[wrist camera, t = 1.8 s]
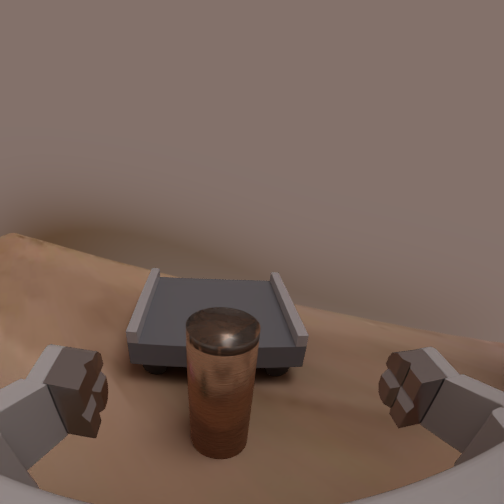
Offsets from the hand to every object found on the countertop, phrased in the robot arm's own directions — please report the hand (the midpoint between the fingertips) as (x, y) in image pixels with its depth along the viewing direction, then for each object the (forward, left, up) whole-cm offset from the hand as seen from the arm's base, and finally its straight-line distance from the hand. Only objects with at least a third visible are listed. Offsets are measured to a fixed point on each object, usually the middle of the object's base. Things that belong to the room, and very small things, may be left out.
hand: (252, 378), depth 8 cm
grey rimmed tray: (0, -31, -21) cm, 38 cm away
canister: (0, -14, -21) cm, 25 cm away
